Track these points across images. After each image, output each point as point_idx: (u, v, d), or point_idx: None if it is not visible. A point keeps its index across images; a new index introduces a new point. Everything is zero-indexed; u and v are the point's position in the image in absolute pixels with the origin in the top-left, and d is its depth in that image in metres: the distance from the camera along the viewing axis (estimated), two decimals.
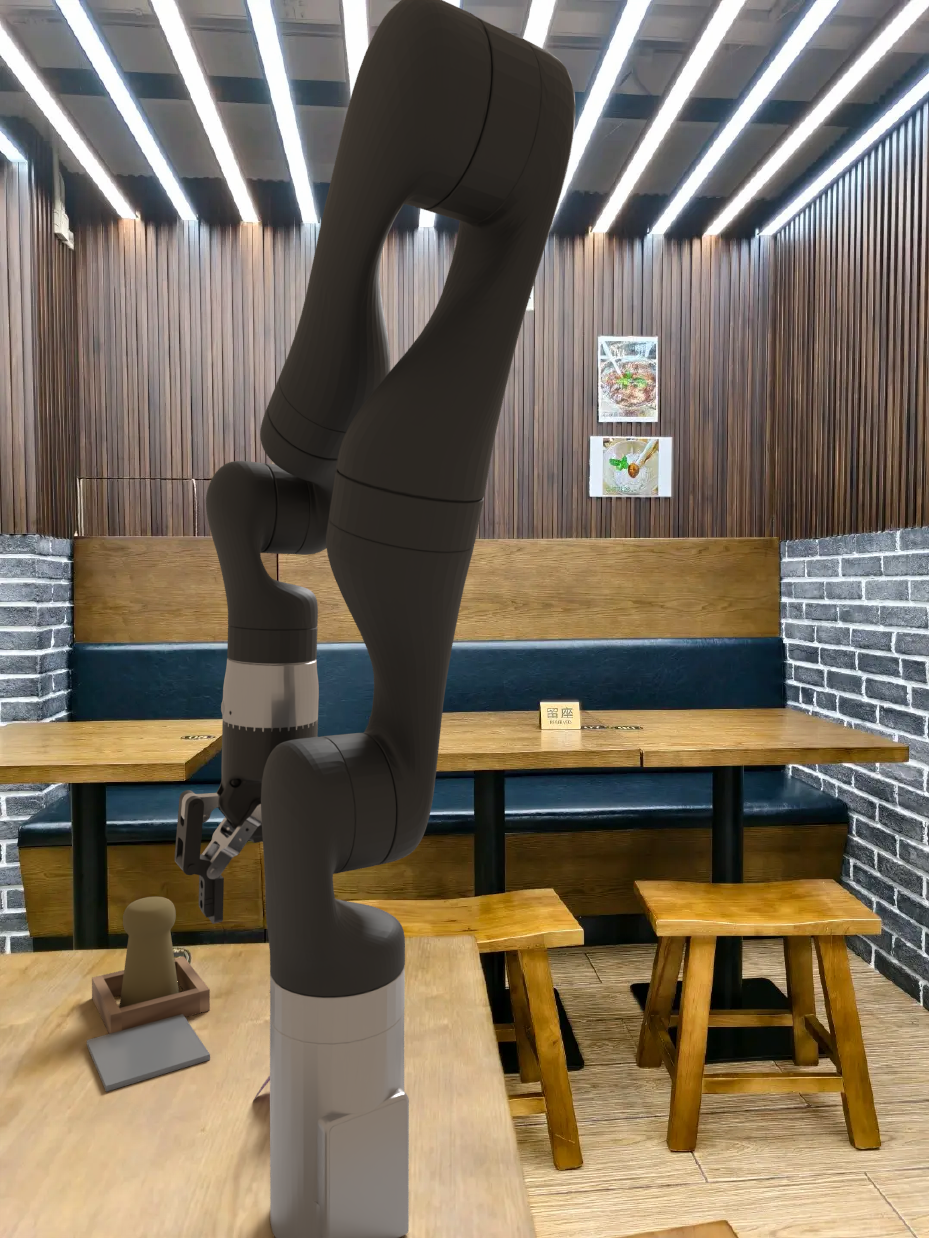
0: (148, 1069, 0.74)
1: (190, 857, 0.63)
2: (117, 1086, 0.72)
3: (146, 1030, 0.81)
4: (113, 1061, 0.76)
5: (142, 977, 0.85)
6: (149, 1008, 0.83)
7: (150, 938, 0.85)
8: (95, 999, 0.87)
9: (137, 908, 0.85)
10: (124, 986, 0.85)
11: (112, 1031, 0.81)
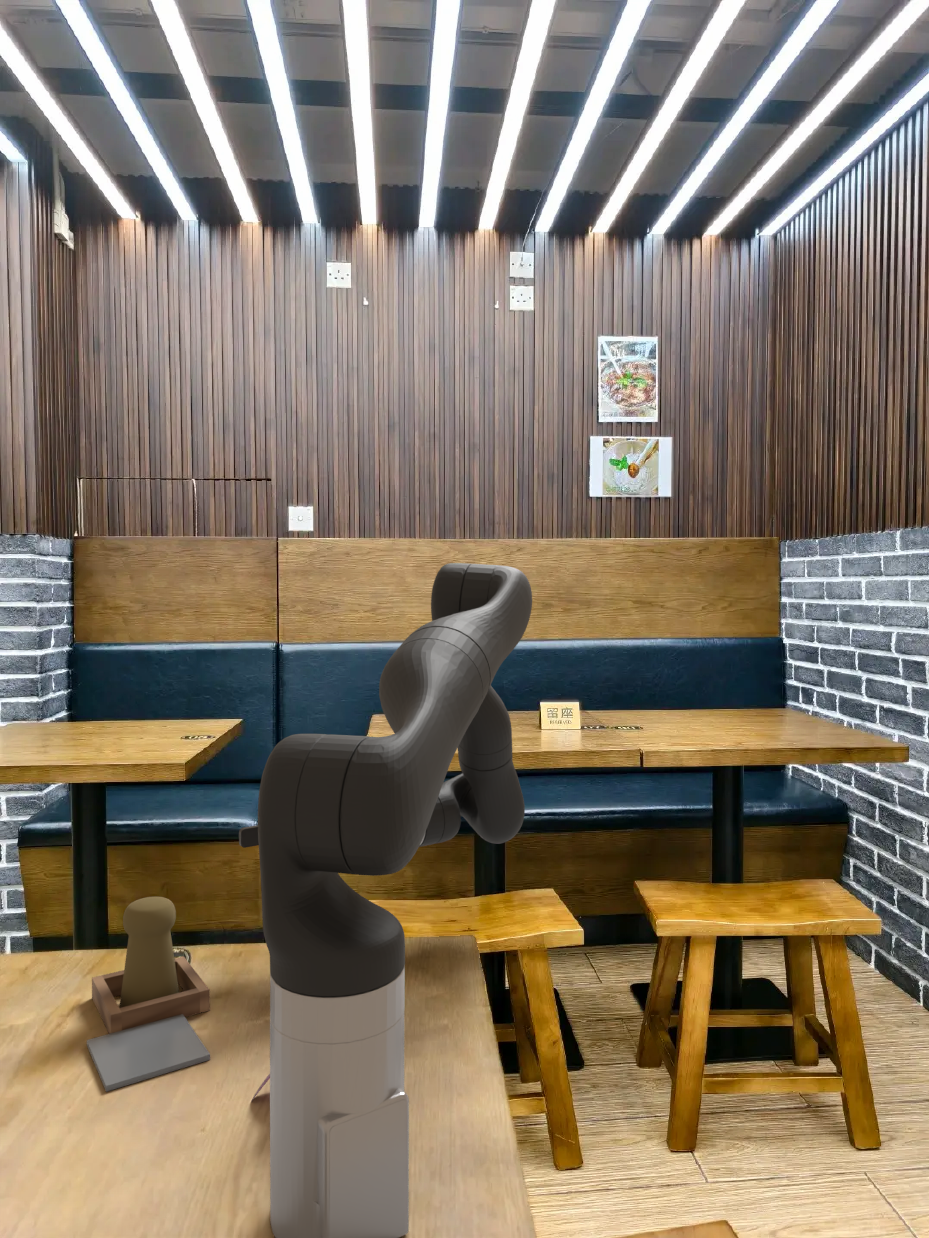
0: (148, 1069, 0.74)
1: None
2: (117, 1086, 0.72)
3: (146, 1030, 0.81)
4: (113, 1061, 0.76)
5: (142, 977, 0.85)
6: (149, 1008, 0.83)
7: (150, 938, 0.85)
8: (95, 999, 0.87)
9: (137, 908, 0.85)
10: (124, 986, 0.85)
11: (112, 1031, 0.81)
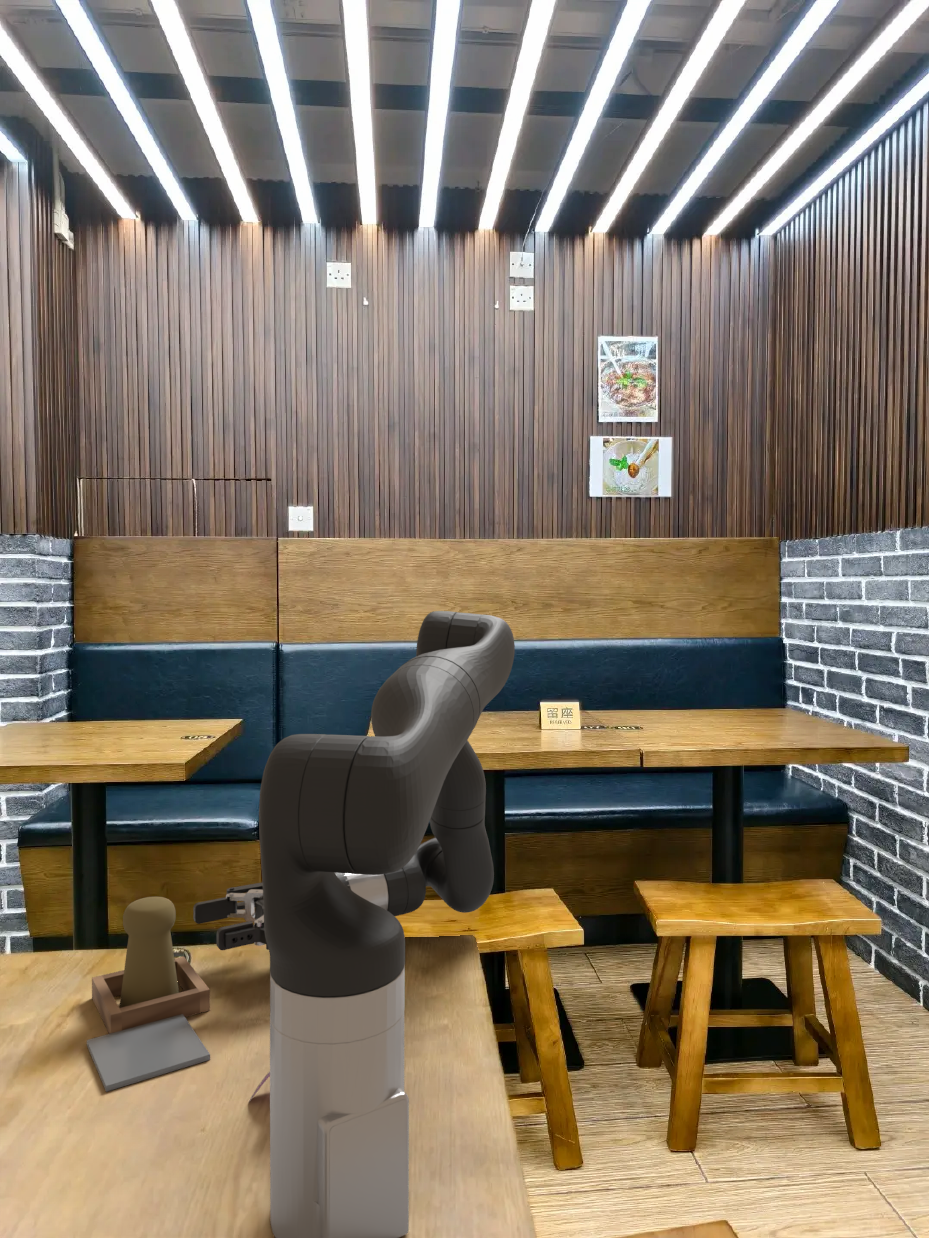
0: (148, 1069, 0.74)
1: (238, 887, 0.99)
2: (117, 1086, 0.72)
3: (146, 1030, 0.81)
4: (113, 1061, 0.76)
5: (142, 977, 0.85)
6: (149, 1008, 0.83)
7: (150, 938, 0.85)
8: (95, 999, 0.87)
9: (137, 908, 0.85)
10: (124, 986, 0.85)
11: (112, 1031, 0.81)
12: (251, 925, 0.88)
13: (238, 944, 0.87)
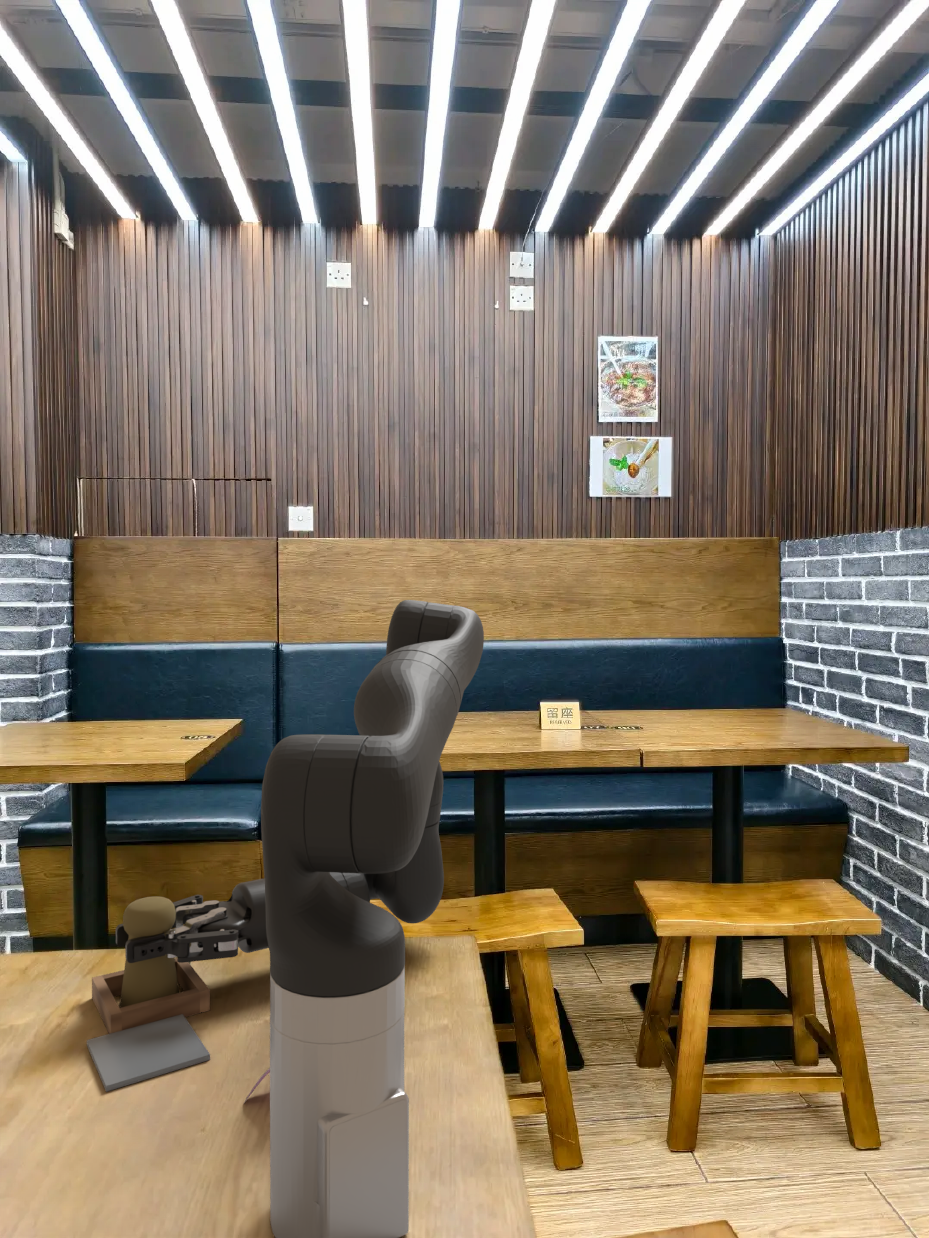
0: (148, 1069, 0.74)
1: None
2: (117, 1086, 0.72)
3: (146, 1030, 0.81)
4: (113, 1061, 0.76)
5: (142, 977, 0.85)
6: (149, 1008, 0.83)
7: None
8: (95, 999, 0.87)
9: (137, 908, 0.85)
10: (124, 986, 0.85)
11: (112, 1031, 0.81)
12: (163, 936, 0.85)
13: (148, 956, 0.84)
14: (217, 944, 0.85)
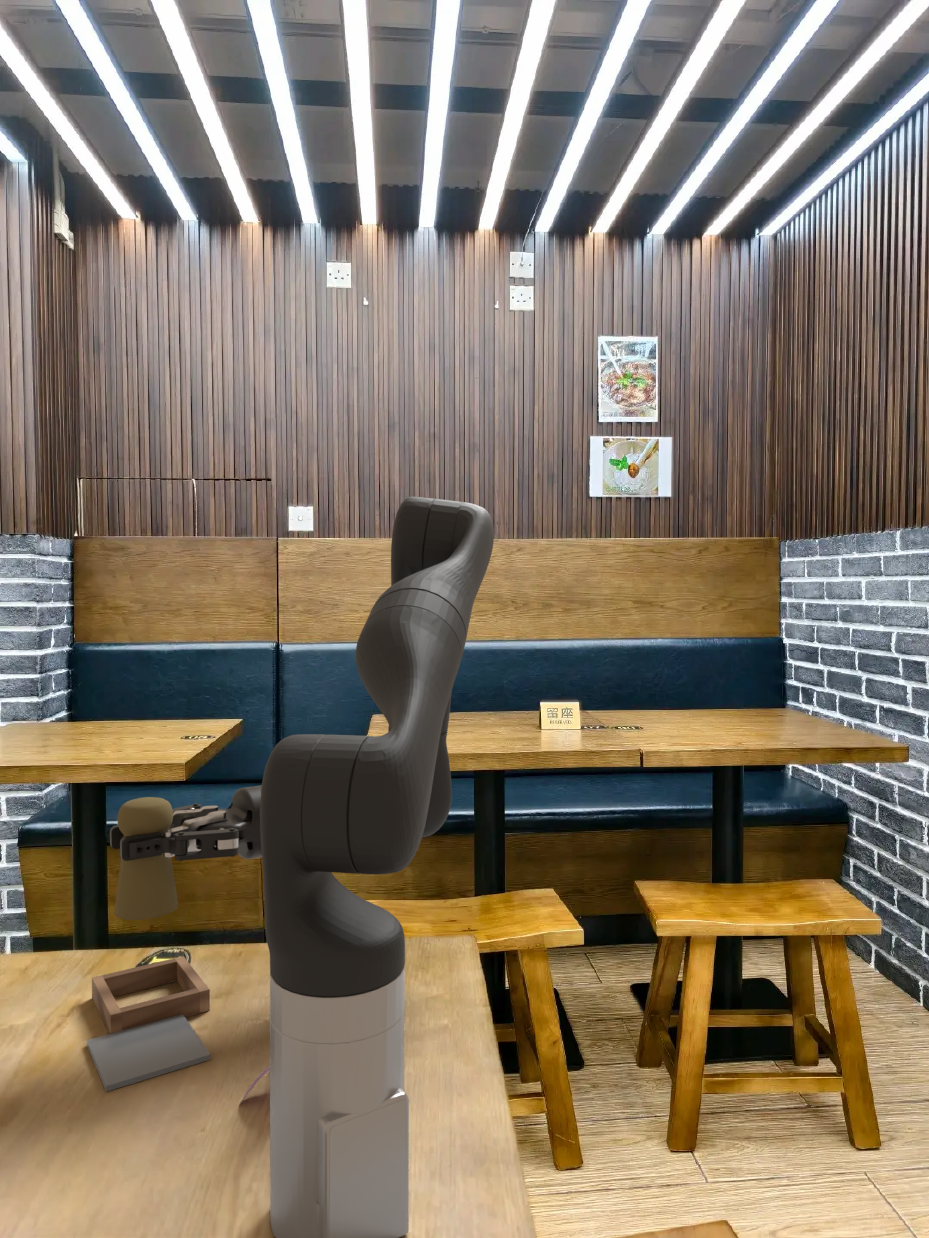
0: (148, 1069, 0.74)
1: None
2: (117, 1086, 0.72)
3: (146, 1030, 0.81)
4: (113, 1061, 0.76)
5: (138, 877, 0.81)
6: (149, 1008, 0.83)
7: None
8: (95, 999, 0.87)
9: (132, 805, 0.81)
10: (119, 887, 0.81)
11: (112, 1031, 0.81)
12: (159, 835, 0.81)
13: (144, 854, 0.80)
14: (216, 842, 0.81)
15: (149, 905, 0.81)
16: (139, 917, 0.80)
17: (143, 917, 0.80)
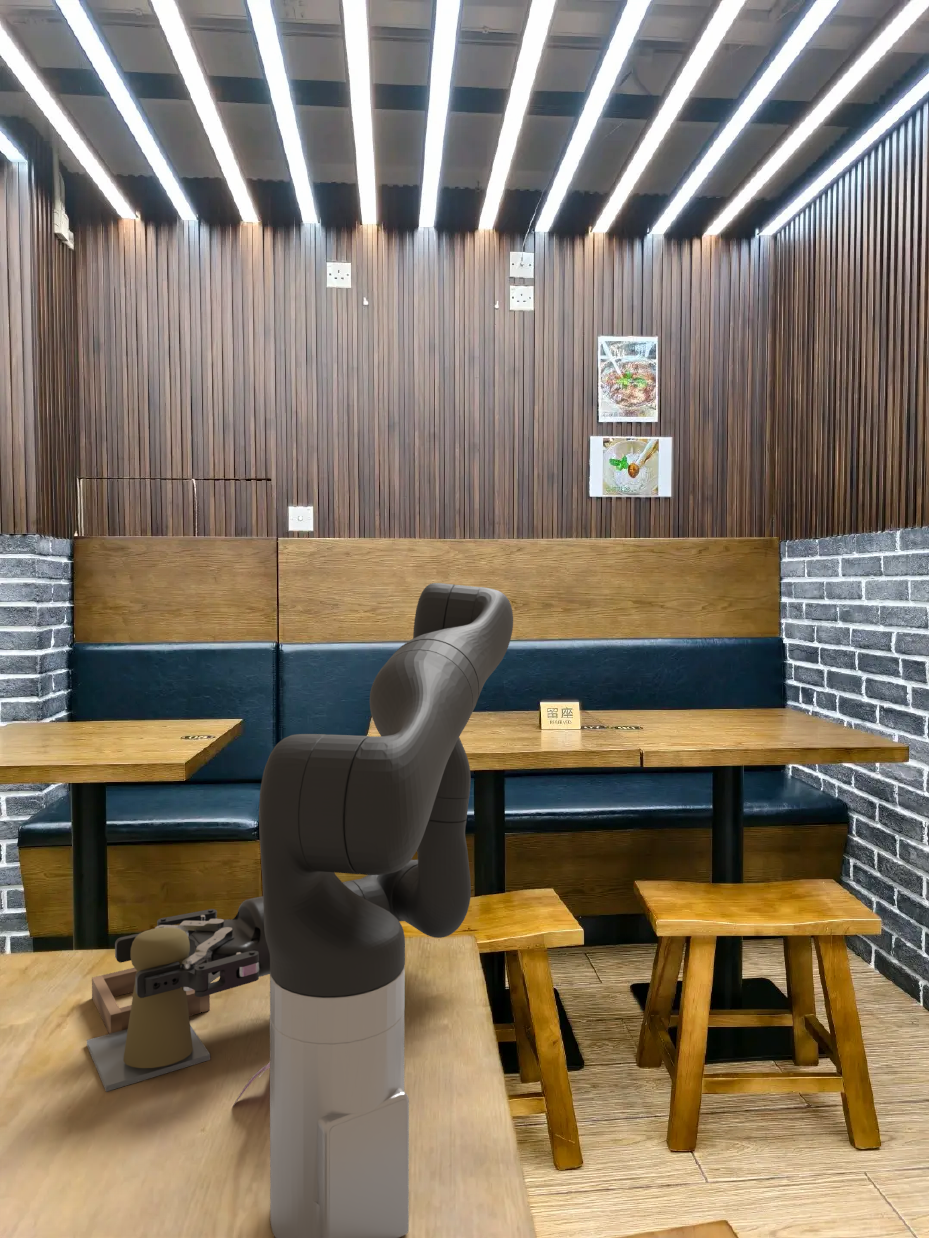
0: (148, 1069, 0.74)
1: (171, 918, 0.85)
2: (117, 1086, 0.72)
3: None
4: (113, 1061, 0.76)
5: (150, 1018, 0.74)
6: None
7: None
8: (95, 999, 0.87)
9: (146, 937, 0.76)
10: (129, 1030, 0.75)
11: (112, 1031, 0.81)
12: (178, 967, 0.75)
13: (161, 990, 0.73)
14: (238, 969, 0.76)
15: (161, 1051, 0.74)
16: (150, 1065, 0.73)
17: (154, 1065, 0.73)
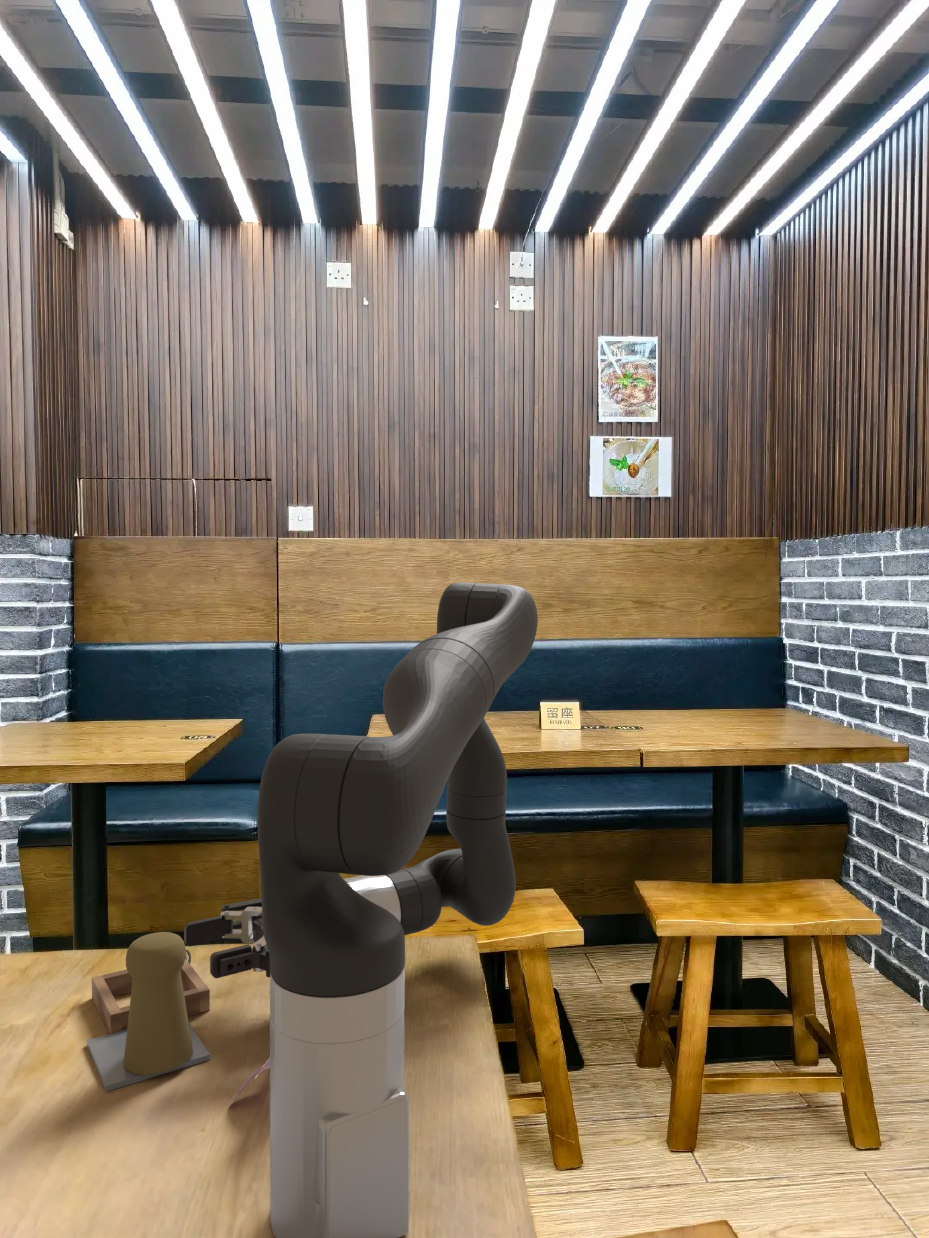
0: None
1: (234, 904, 0.89)
2: (117, 1086, 0.72)
3: None
4: (113, 1061, 0.76)
5: (149, 1026, 0.74)
6: None
7: (157, 980, 0.74)
8: (95, 999, 0.87)
9: (141, 946, 0.75)
10: (128, 1037, 0.74)
11: (112, 1031, 0.81)
12: (249, 949, 0.79)
13: (234, 971, 0.77)
14: None
15: (161, 1058, 0.74)
16: (151, 1071, 0.73)
17: (155, 1071, 0.73)
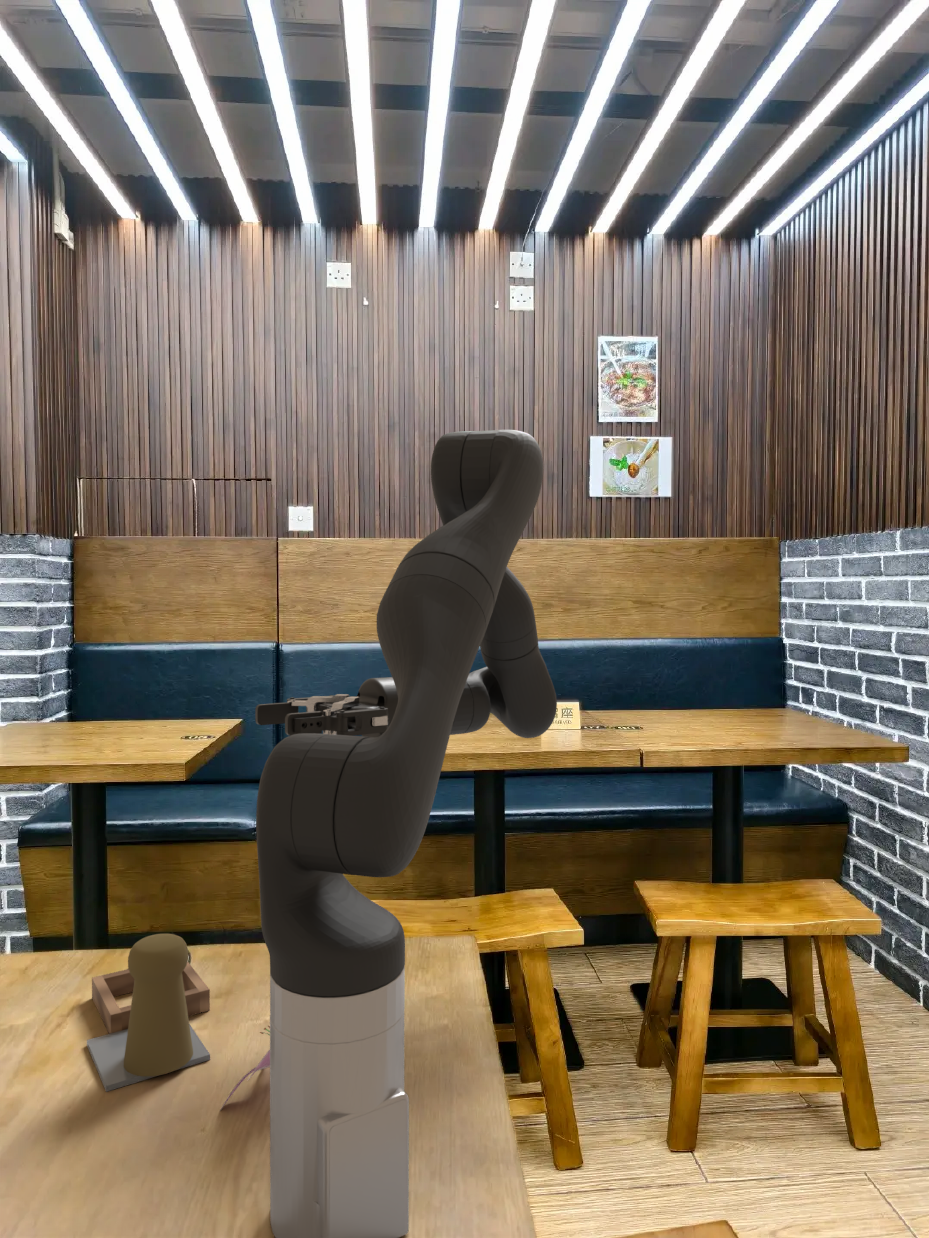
0: None
1: (298, 698, 0.95)
2: (117, 1086, 0.72)
3: None
4: (113, 1061, 0.76)
5: (150, 1028, 0.74)
6: None
7: (159, 983, 0.74)
8: (95, 999, 0.87)
9: (144, 948, 0.74)
10: (129, 1038, 0.74)
11: (112, 1031, 0.81)
12: (320, 714, 0.85)
13: (307, 730, 0.83)
14: (372, 719, 0.86)
15: (162, 1060, 0.74)
16: (151, 1073, 0.73)
17: (155, 1073, 0.73)
